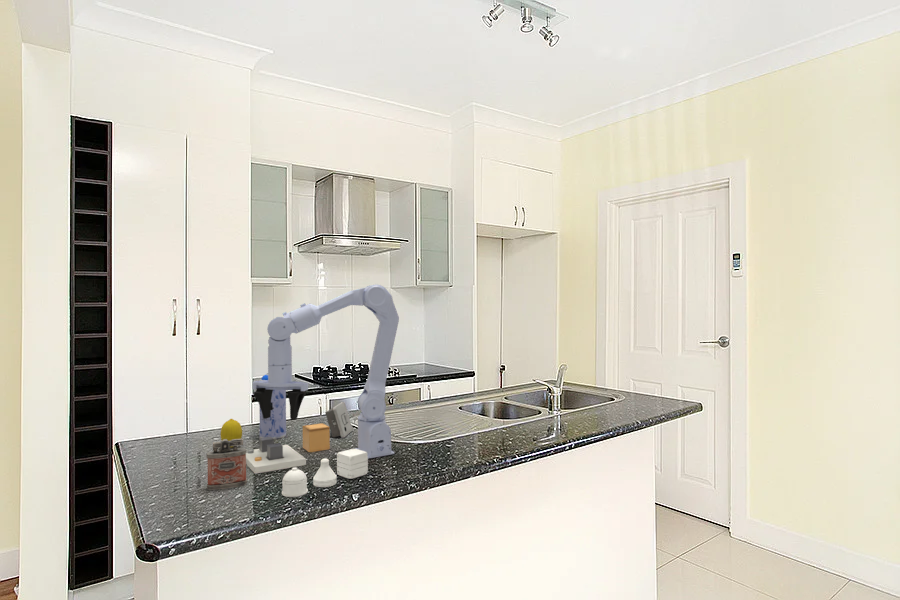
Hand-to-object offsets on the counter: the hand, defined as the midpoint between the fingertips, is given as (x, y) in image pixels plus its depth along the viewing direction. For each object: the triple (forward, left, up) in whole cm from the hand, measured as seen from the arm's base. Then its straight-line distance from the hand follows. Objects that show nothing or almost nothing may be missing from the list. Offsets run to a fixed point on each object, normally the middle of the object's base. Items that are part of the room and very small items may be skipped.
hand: (280, 418), depth 136 cm
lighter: (-13, +15, -11) cm, 22 cm away
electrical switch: (+16, -22, -11) cm, 30 cm away
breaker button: (-2, +2, -9) cm, 9 cm away
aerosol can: (+26, -5, -11) cm, 29 cm away
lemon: (+19, +8, -11) cm, 24 cm away
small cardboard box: (+5, -11, -10) cm, 16 cm away
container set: (-23, -3, -11) cm, 26 cm away
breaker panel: (0, +2, -10) cm, 11 cm away
